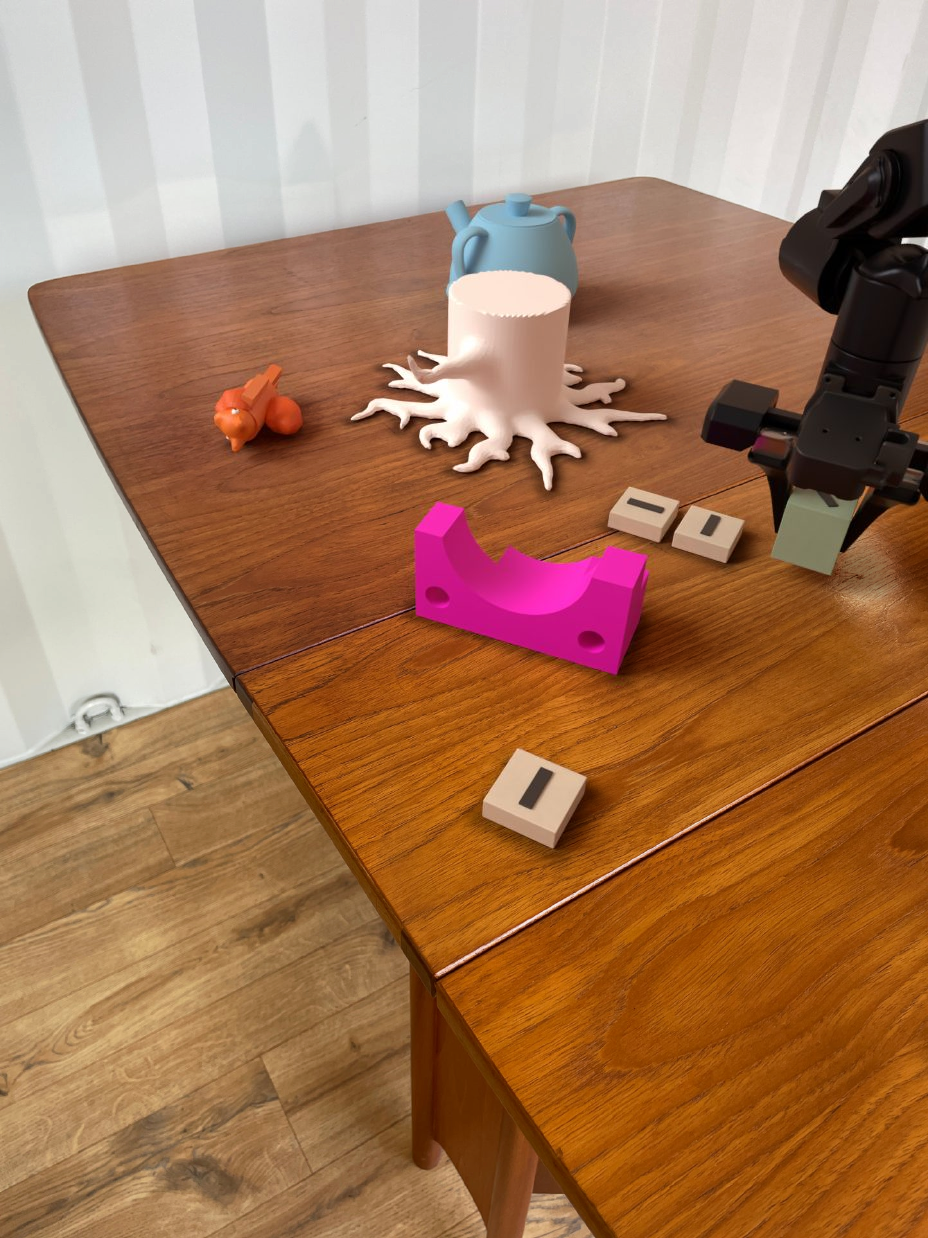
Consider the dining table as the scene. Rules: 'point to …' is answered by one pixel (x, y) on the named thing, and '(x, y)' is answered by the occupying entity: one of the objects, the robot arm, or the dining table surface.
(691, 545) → the beige letter tiles
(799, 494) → the green letter i block
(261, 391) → the orange toy bird
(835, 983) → the dining table surface
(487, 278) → the tree stump
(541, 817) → the beige minus sign block
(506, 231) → the teapot
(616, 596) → the magenta cradle bracket
